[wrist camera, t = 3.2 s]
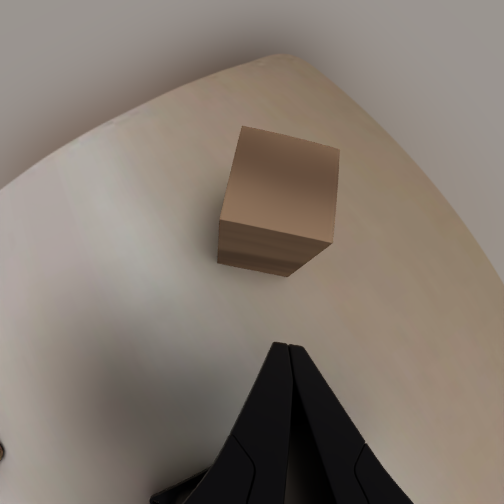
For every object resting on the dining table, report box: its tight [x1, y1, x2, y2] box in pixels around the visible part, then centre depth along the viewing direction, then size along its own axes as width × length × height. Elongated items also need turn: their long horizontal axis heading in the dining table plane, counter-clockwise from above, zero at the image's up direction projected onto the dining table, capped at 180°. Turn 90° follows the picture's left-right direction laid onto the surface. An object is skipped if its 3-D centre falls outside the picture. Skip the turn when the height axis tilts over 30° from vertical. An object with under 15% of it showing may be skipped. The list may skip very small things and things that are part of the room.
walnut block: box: [217, 126, 340, 277], centre depth 18 cm, size 5×5×9 cm
